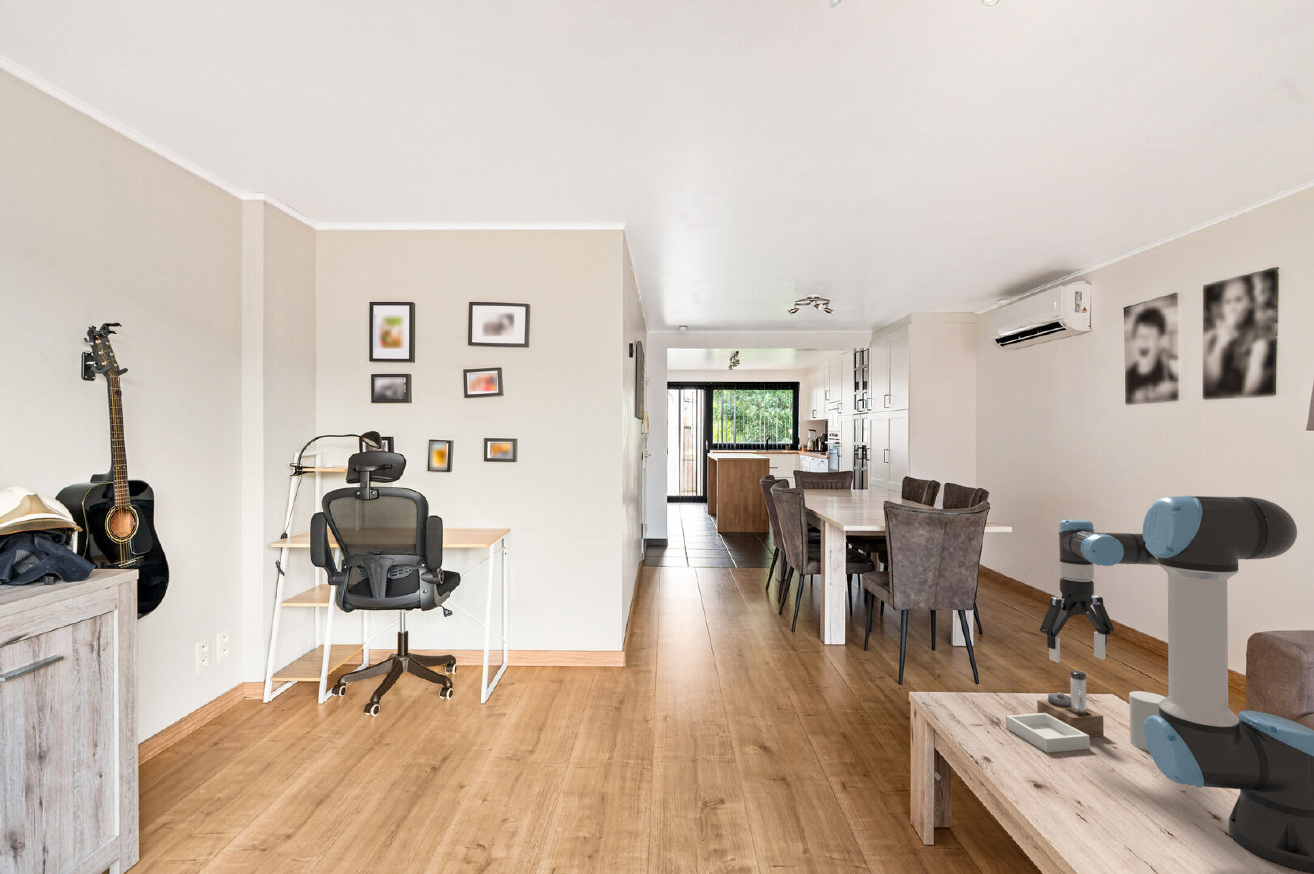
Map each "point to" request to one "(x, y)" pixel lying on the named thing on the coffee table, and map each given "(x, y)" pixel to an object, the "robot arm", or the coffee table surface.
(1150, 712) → the white cylinder
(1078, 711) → the pin
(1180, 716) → the robot arm
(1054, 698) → the block
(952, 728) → the coffee table surface
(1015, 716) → the tray
